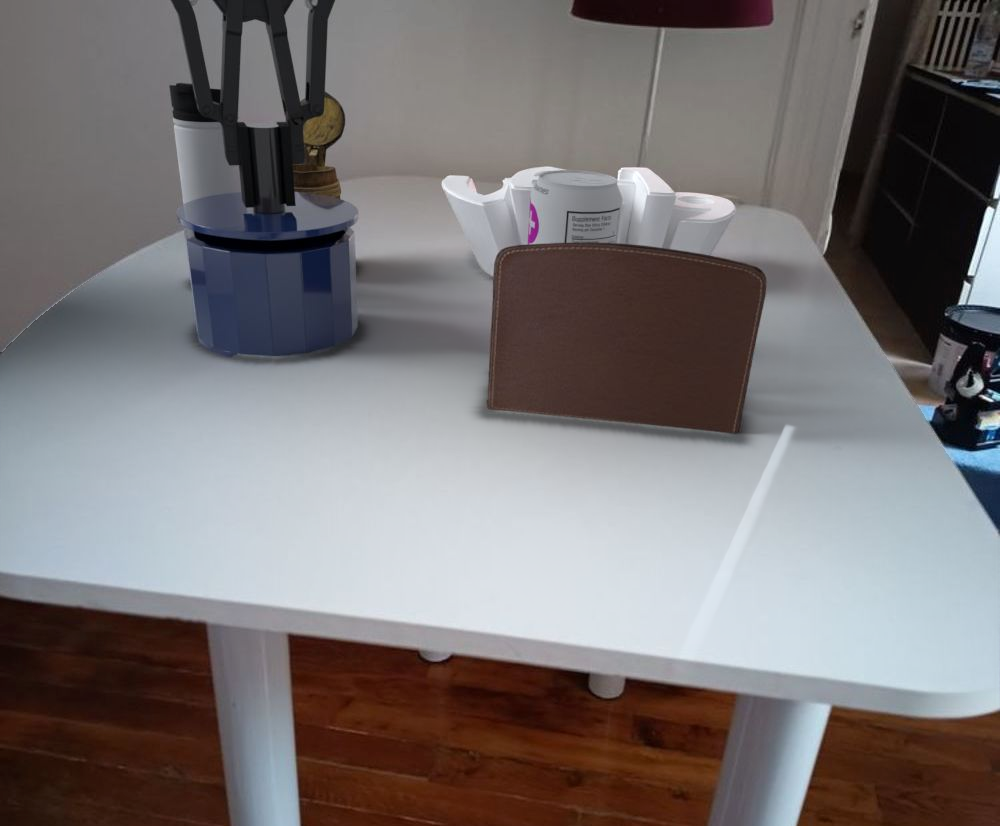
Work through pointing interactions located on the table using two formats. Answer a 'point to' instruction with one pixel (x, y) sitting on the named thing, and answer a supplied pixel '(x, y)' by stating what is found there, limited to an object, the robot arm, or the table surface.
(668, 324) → the letter holder
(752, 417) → the table surface
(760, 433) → the table surface
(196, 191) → the travel mug
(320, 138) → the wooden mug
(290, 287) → the pot
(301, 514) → the table surface
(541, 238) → the supplement can
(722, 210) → the wavy white extrusion
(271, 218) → the lid
